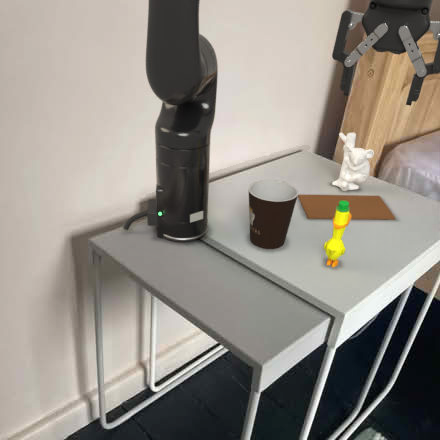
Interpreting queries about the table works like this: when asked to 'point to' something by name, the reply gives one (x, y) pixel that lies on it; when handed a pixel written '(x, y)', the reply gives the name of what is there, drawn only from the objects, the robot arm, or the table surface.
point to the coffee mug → (270, 212)
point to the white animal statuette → (353, 164)
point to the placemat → (358, 206)
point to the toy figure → (338, 233)
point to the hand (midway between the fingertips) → (377, 99)
